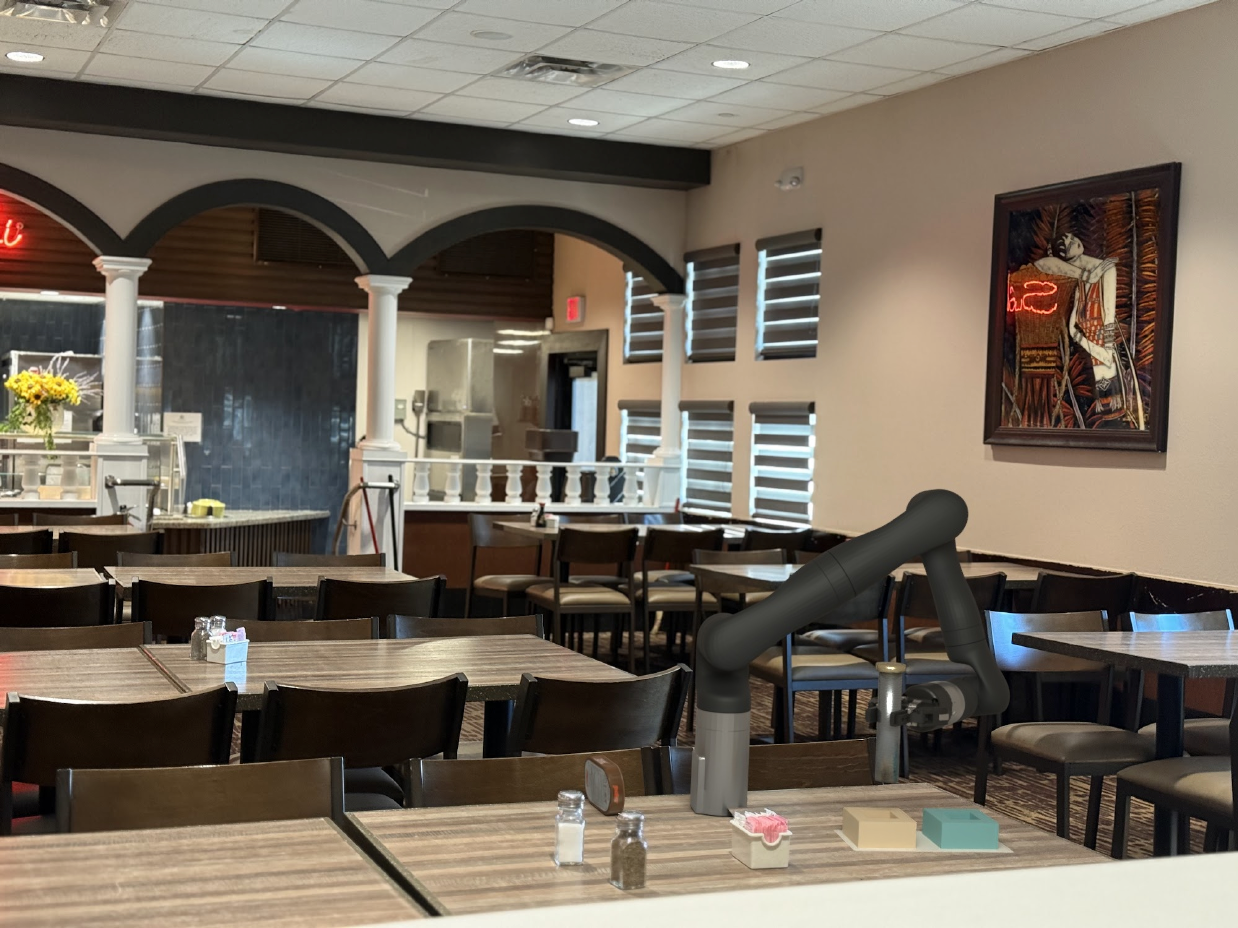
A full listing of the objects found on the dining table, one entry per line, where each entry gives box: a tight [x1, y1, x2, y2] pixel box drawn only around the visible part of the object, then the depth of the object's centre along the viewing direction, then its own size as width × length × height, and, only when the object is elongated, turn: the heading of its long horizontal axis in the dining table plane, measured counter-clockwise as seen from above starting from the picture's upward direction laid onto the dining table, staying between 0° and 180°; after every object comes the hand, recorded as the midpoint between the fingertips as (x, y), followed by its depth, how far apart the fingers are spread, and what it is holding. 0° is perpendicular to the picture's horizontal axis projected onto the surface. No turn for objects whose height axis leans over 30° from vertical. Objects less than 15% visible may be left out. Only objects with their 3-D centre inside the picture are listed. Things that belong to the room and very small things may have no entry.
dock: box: [833, 806, 1015, 854], centre depth 225 cm, size 25×12×6 cm, turn 96°
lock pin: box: [874, 661, 907, 784], centre depth 224 cm, size 5×5×18 cm
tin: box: [583, 754, 626, 816], centre depth 243 cm, size 15×3×8 cm, turn 19°
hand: (880, 717), depth 222 cm, fingers closed on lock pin, 3 cm apart
